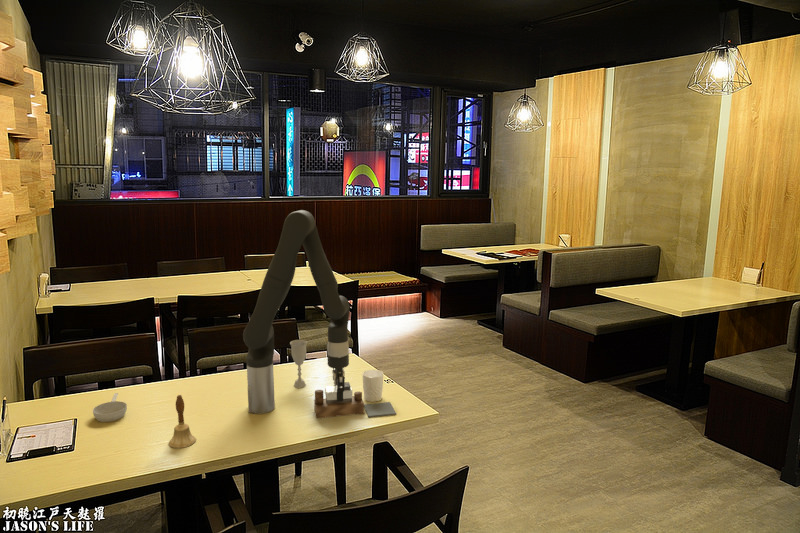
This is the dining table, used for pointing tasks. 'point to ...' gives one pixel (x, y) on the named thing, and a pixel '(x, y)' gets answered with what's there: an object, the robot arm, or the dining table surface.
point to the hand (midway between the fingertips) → (338, 397)
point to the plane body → (337, 405)
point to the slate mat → (379, 409)
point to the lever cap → (332, 393)
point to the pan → (110, 410)
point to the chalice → (299, 359)
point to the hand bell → (181, 429)
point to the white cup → (372, 385)
